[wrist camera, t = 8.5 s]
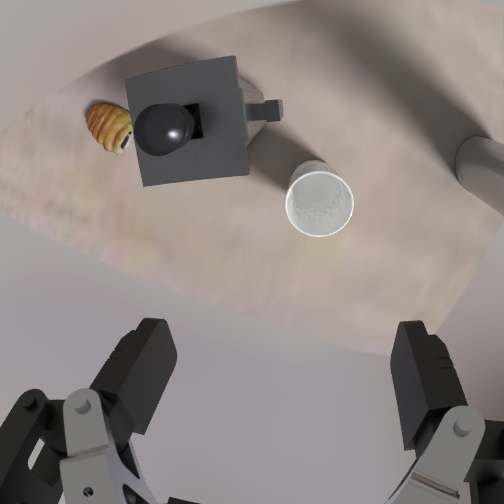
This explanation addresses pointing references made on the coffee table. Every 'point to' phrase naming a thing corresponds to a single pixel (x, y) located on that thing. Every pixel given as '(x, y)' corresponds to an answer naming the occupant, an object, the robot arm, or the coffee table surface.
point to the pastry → (110, 127)
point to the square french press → (203, 119)
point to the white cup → (318, 199)
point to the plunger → (167, 127)
